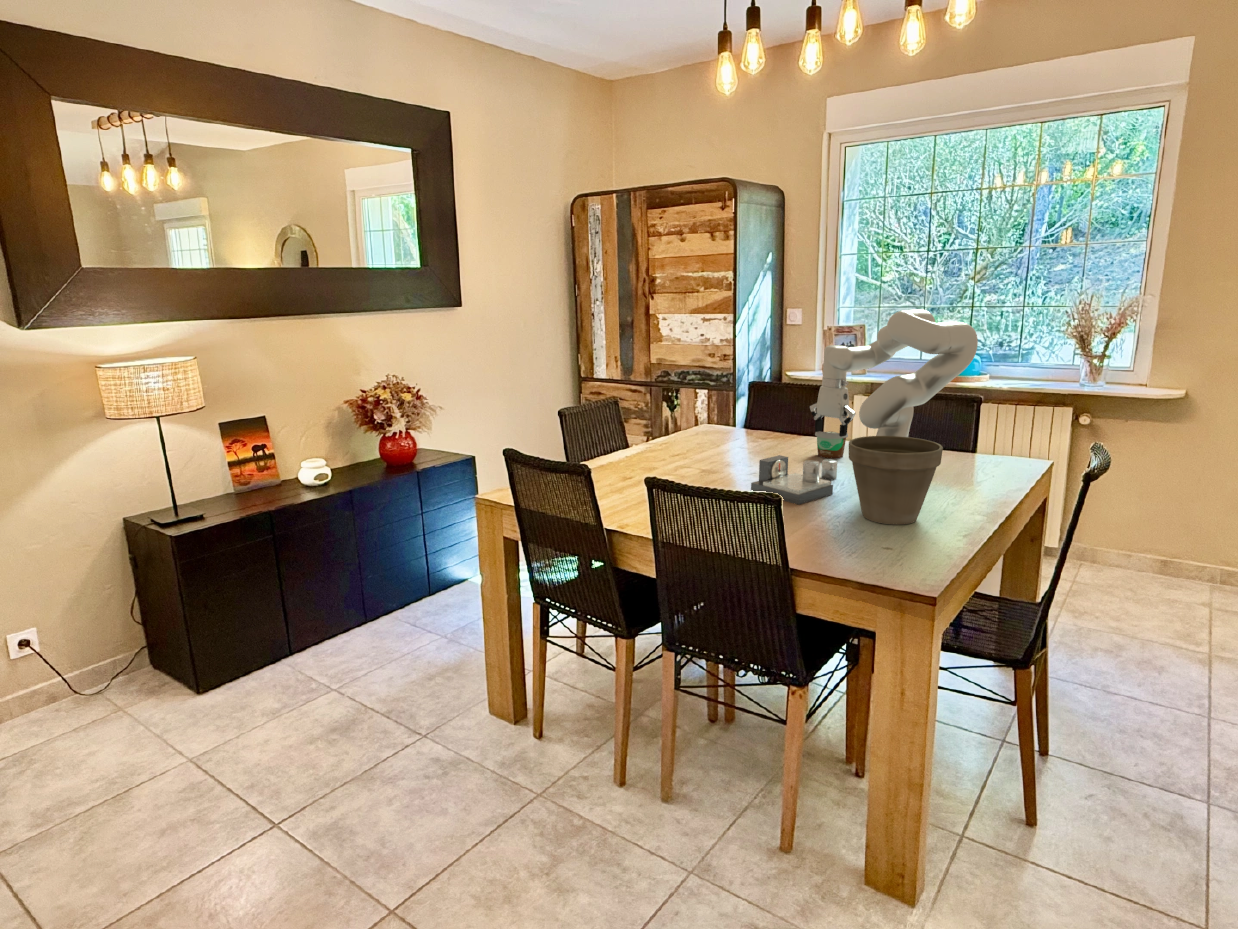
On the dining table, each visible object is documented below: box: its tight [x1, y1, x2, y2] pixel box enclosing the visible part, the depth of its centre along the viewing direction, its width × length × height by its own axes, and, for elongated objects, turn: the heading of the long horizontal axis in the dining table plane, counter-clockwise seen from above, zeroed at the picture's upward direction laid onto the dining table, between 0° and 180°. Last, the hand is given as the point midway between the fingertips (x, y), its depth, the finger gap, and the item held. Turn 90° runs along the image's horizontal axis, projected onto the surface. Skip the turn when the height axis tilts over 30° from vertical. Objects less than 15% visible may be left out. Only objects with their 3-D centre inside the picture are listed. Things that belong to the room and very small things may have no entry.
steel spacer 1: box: [802, 459, 821, 483], centre depth 237 cm, size 5×5×6 cm
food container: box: [814, 431, 849, 460], centre depth 284 cm, size 12×6×10 cm, turn 62°
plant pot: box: [848, 435, 944, 526], centre depth 212 cm, size 25×25×22 cm
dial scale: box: [750, 454, 834, 506], centre depth 238 cm, size 19×17×10 cm
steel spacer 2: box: [820, 458, 838, 481], centre depth 256 cm, size 5×5×6 cm
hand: (830, 433), depth 253 cm, fingers open, 9 cm apart
